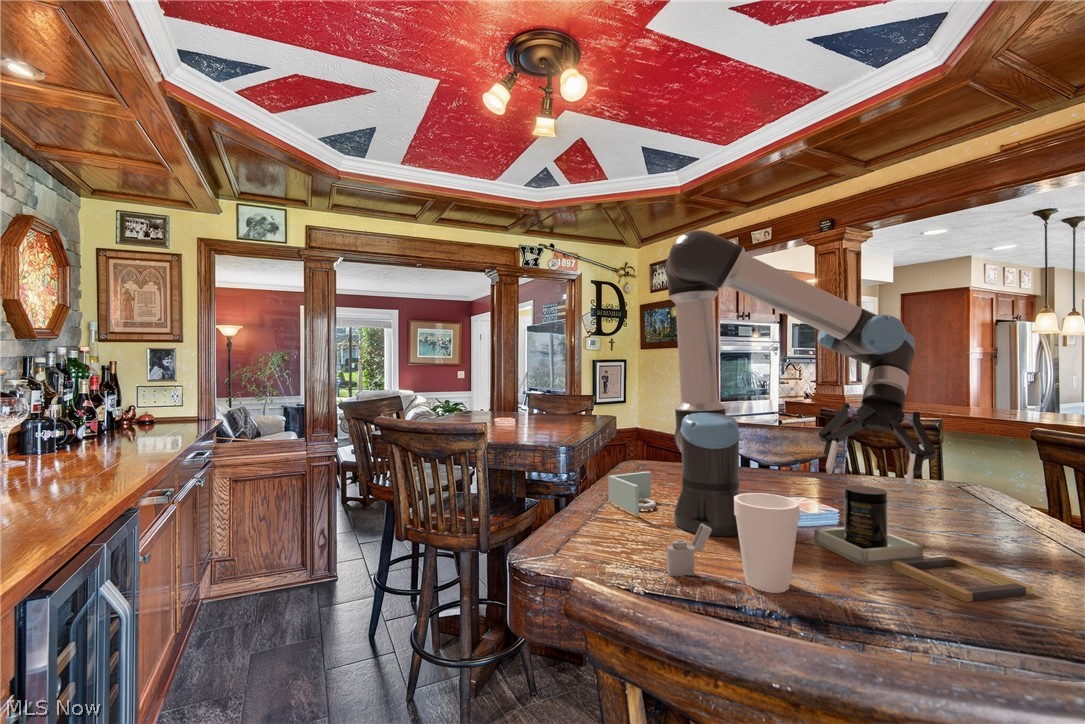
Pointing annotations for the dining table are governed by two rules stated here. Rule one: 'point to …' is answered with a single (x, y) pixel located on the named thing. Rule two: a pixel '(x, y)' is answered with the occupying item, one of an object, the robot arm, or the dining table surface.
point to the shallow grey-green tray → (871, 556)
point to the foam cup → (767, 539)
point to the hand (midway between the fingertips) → (866, 478)
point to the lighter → (686, 553)
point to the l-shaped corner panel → (631, 491)
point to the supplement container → (865, 516)
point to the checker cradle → (1003, 590)
